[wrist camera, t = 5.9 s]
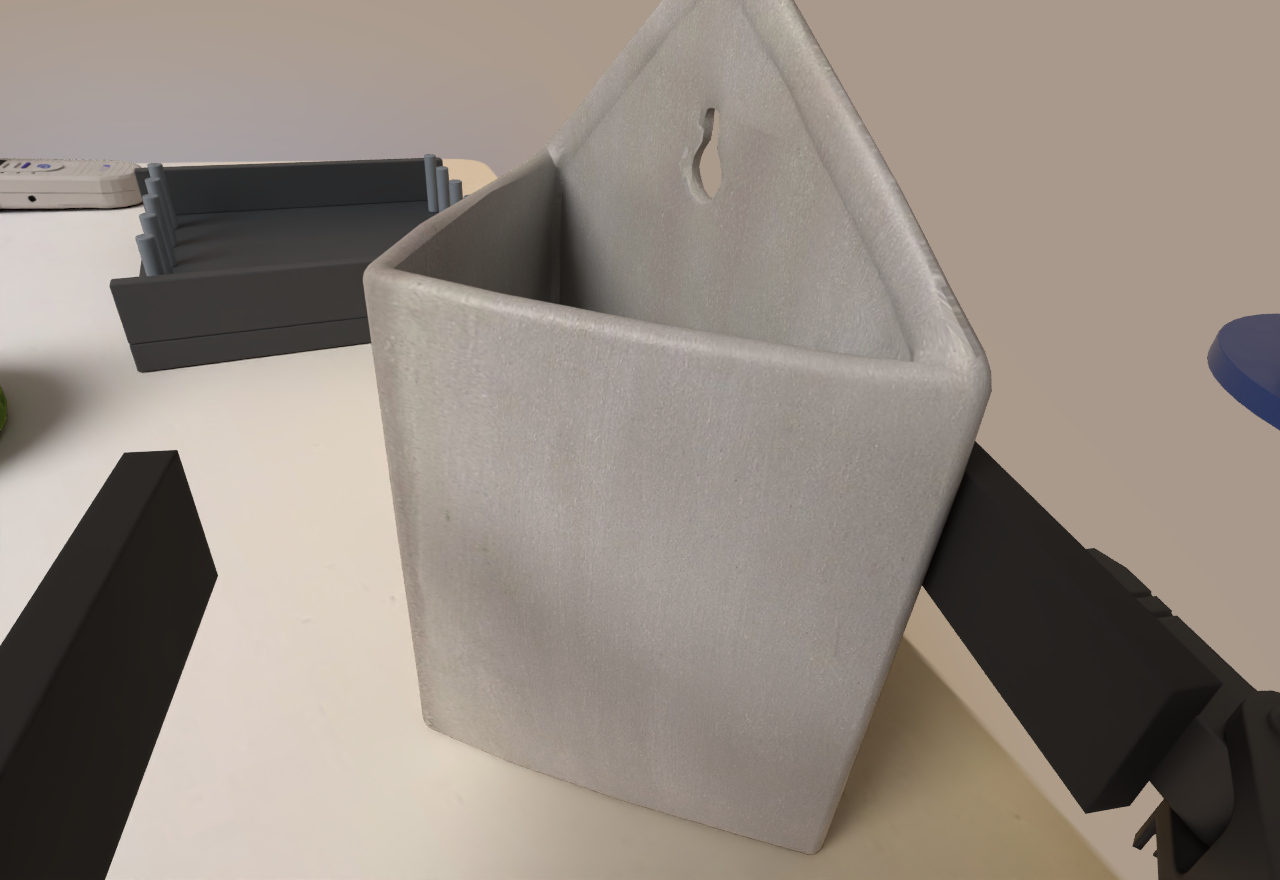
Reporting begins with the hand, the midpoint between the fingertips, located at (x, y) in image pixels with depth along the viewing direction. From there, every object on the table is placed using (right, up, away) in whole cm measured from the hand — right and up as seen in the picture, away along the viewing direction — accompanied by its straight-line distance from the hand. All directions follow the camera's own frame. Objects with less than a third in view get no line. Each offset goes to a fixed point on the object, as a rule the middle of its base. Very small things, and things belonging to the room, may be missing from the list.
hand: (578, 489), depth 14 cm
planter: (-2, -6, +9) cm, 11 cm away
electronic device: (-44, +18, +41) cm, 63 cm away
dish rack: (-19, +11, +34) cm, 40 cm away
